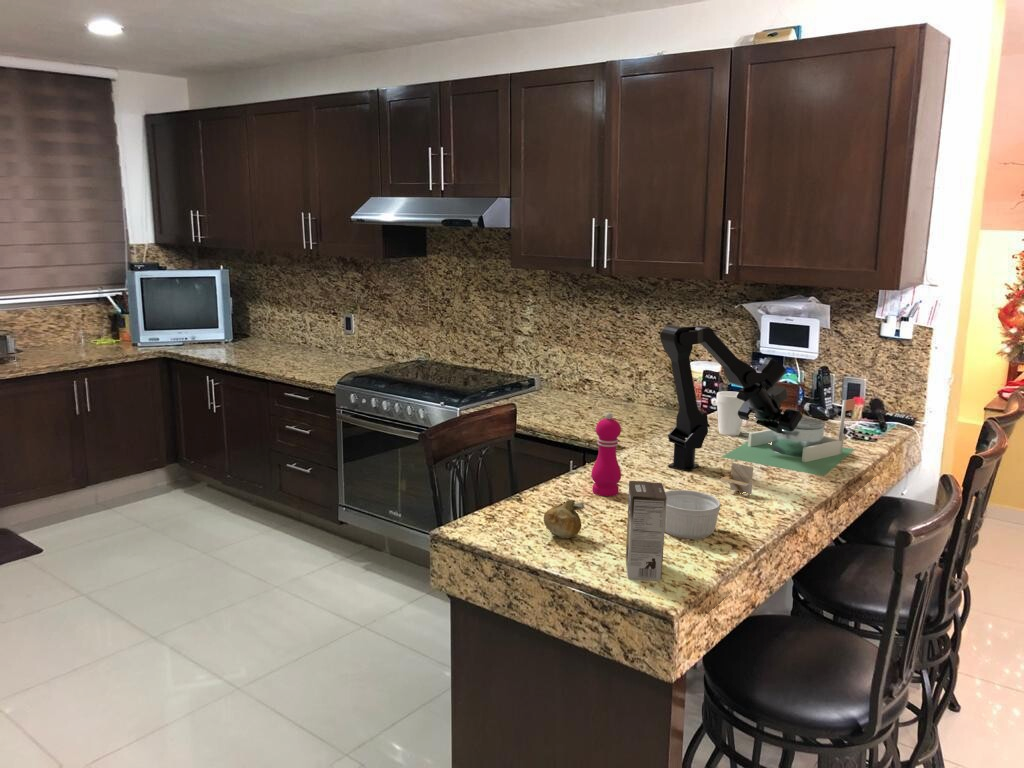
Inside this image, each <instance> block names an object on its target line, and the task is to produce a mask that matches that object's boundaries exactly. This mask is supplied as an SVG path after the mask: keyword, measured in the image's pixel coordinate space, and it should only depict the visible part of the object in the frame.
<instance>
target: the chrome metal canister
mask: <svg viewBox="0 0 1024 768" xmlns="http://www.w3.org/2000/svg"><path fill="white" fill-rule="evenodd" d="M825 426H826V423H825V422H824V421H823V420H821V419H818V418H813V417H809V416H803V417H802V419H801V420H800V422H799V423H798V425H797V426H796V428H795V429H794V431H787V430H783V429H782V432H781V434H780V433H777V432H775V431H773V441H772V449H773V450H774V451H776V452H778V453H781V454H785V455H790V456H798V457H802V455H803V448H804V447H809V446H813V445H818V444H823V436H825V435H824V433H825Z"/></svg>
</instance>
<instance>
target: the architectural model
mask: <svg viewBox="0 0 1024 768" xmlns="http://www.w3.org/2000/svg"><path fill="white" fill-rule="evenodd" d="M730 466H731V472H729V475H728V476H727V475H726V476H724V477H721V478H720V481H723V482H727V483H730V486H729V490H730V489H731V490H730V491H734V490H735V491H734V492H738V491H739V492H738V493H739V494H740V493H741V494H740V495H743V494H744V493H743V492H746V493H748V494H747V496H748V495H750V494H753V482H754V481H753V477H754V467H753V466H749V465H744V464H741V463H736V462H732V463H731V465H730ZM742 493H743V494H742ZM746 493H745V494H746ZM750 496H751V495H750Z"/></svg>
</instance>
